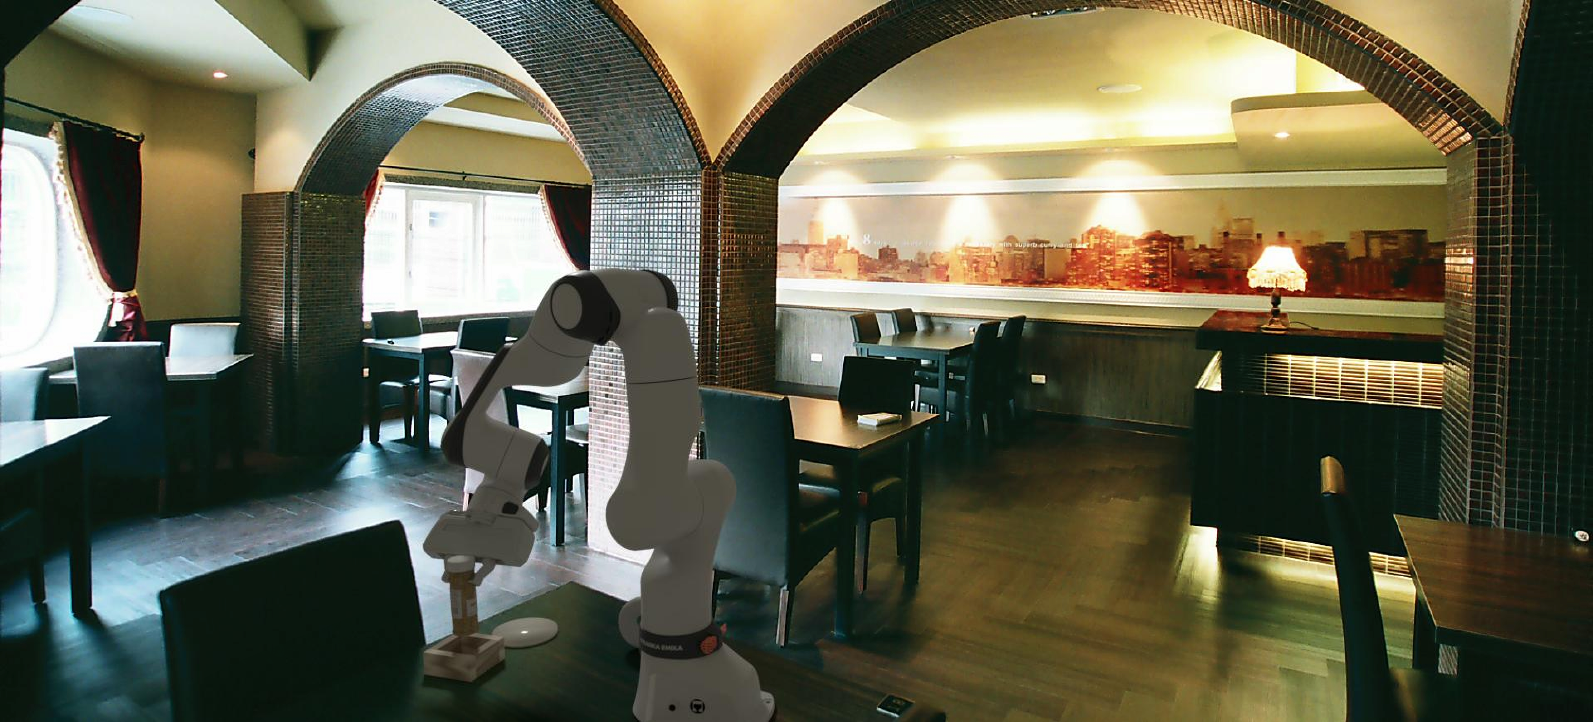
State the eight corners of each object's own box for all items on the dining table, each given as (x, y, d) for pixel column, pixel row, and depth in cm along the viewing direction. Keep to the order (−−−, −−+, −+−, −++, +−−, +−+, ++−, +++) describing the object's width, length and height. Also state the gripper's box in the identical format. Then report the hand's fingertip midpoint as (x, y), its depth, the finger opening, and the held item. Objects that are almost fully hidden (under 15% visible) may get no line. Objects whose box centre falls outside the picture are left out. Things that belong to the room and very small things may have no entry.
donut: (616, 651, 166) (614, 598, 165) (622, 643, 170) (621, 591, 169) (669, 654, 165) (668, 601, 164) (674, 646, 168) (673, 594, 167)
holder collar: (504, 658, 163) (503, 637, 163) (470, 682, 154) (469, 659, 154) (460, 651, 166) (459, 630, 166) (424, 674, 157) (423, 652, 157)
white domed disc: (569, 625, 178) (569, 621, 178) (534, 651, 166) (534, 646, 166) (516, 618, 181) (516, 614, 181) (478, 642, 170) (478, 638, 170)
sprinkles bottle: (482, 633, 159) (477, 558, 157) (454, 639, 156) (449, 564, 155) (476, 624, 163) (471, 551, 161) (449, 630, 160) (444, 556, 159)
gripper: (435, 500, 167) (400, 569, 159) (532, 508, 161) (500, 580, 152) (453, 517, 172) (420, 585, 163) (547, 525, 165) (518, 596, 157)
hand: (460, 583), depth 158 cm, fingers closed on sprinkles bottle, 4 cm apart
